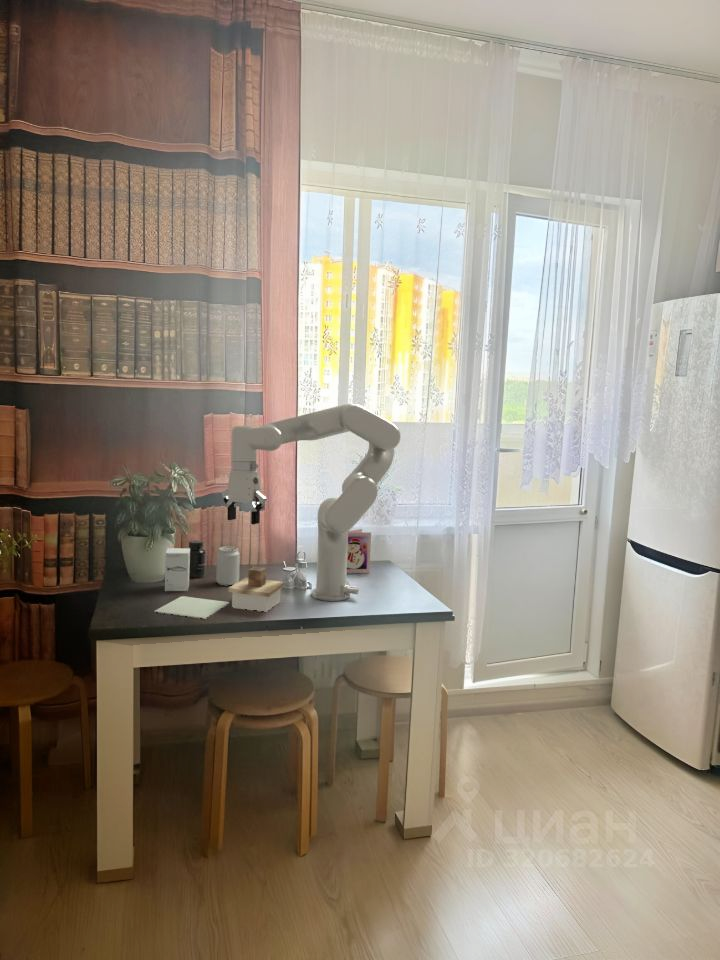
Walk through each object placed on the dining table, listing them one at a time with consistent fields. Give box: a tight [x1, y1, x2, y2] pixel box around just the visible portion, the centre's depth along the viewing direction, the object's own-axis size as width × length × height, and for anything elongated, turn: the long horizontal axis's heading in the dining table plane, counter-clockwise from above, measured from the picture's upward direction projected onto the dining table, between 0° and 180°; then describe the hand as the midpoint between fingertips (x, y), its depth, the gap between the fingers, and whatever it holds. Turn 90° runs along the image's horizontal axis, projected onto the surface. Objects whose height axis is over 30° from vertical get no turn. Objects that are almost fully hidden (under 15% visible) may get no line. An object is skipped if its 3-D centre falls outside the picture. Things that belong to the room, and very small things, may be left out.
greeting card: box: [346, 528, 372, 574], centre depth 266 cm, size 11×7×15 cm, turn 101°
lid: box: [227, 566, 286, 597], centre depth 221 cm, size 13×13×6 cm
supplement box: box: [164, 547, 190, 592], centre depth 235 cm, size 7×7×13 cm
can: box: [215, 546, 241, 587], centre depth 243 cm, size 8×8×12 cm
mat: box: [154, 595, 230, 620], centre depth 217 cm, size 16×16×1 cm
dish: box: [231, 589, 281, 613], centre depth 222 cm, size 11×11×5 cm
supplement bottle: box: [187, 539, 207, 579], centre depth 251 cm, size 7×7×12 cm
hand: (243, 521), depth 225 cm, fingers open, 9 cm apart
